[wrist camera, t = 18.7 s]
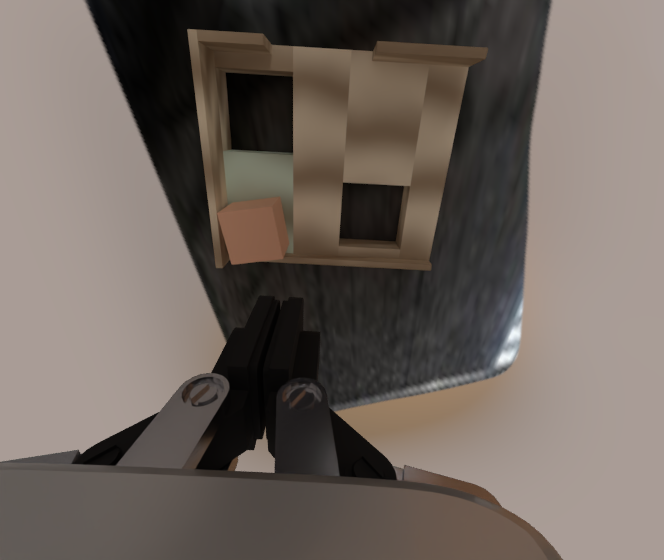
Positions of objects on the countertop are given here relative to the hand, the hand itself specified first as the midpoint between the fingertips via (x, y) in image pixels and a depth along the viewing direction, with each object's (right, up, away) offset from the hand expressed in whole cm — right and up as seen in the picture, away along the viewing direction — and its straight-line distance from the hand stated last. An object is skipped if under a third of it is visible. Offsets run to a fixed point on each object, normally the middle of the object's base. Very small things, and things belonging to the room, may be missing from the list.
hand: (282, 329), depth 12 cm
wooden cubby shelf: (+2, +13, +17) cm, 21 cm away
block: (-5, +7, +17) cm, 19 cm away
